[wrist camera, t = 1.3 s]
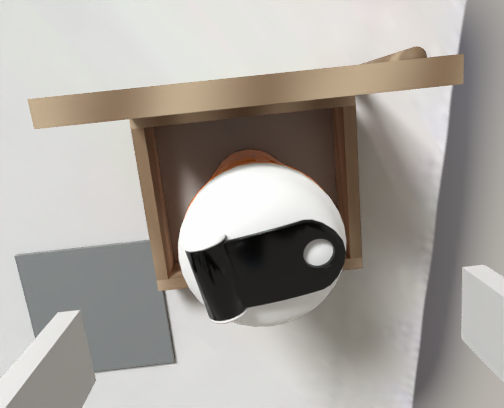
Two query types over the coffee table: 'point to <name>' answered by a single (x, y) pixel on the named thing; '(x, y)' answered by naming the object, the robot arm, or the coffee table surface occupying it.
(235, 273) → the shaker bottle
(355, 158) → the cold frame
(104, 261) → the slate coaster
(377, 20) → the coffee table surface
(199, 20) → the coffee table surface
